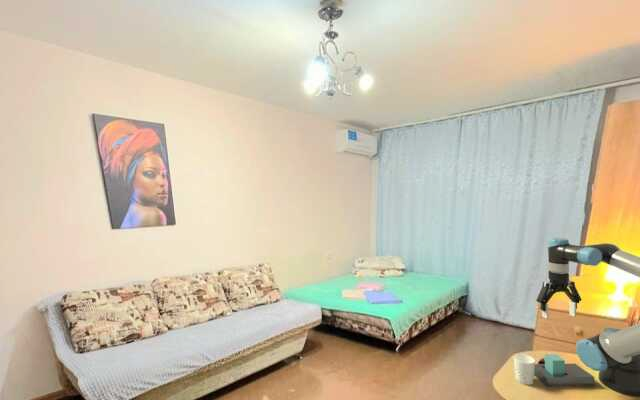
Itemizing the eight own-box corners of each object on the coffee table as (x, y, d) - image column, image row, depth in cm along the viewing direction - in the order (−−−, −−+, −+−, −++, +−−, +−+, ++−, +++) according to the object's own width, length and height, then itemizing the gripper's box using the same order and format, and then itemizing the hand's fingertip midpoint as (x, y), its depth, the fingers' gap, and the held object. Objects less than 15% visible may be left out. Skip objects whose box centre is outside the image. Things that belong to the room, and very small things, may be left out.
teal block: (556, 375, 138) (556, 354, 138) (564, 382, 133) (564, 360, 133) (544, 375, 138) (544, 354, 138) (552, 382, 133) (552, 360, 133)
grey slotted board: (575, 372, 141) (575, 363, 140) (594, 386, 131) (594, 376, 130) (531, 372, 141) (531, 364, 141) (546, 386, 131) (546, 377, 131)
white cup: (538, 386, 131) (538, 364, 131) (518, 385, 133) (518, 362, 132) (529, 375, 139) (529, 354, 138) (510, 374, 140) (510, 352, 140)
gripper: (576, 268, 146) (576, 311, 147) (527, 270, 145) (527, 315, 145) (591, 272, 139) (591, 318, 139) (539, 275, 137) (540, 321, 138)
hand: (559, 316), depth 142 cm, fingers open, 13 cm apart
